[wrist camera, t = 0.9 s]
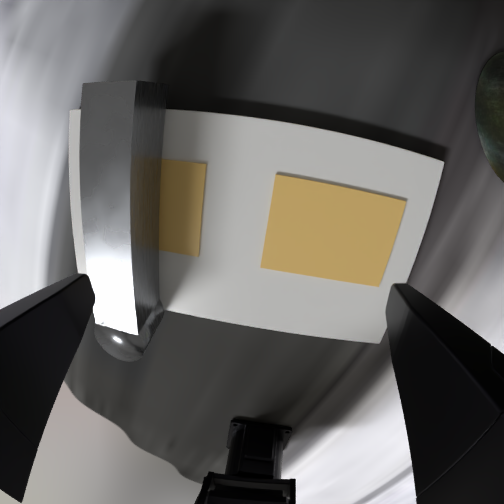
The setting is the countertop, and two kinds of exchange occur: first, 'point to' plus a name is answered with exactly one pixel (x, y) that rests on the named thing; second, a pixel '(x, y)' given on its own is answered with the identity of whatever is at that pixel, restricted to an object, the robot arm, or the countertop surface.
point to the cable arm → (122, 209)
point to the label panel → (281, 222)
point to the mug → (492, 112)
